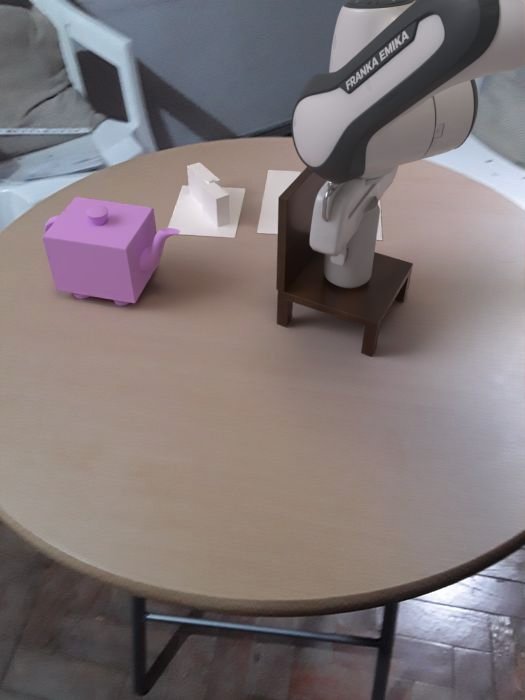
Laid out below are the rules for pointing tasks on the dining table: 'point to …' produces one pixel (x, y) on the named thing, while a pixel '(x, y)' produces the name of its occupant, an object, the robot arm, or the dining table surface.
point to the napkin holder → (206, 205)
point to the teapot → (104, 249)
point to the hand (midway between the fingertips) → (350, 245)
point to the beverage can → (357, 253)
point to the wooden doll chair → (308, 269)
